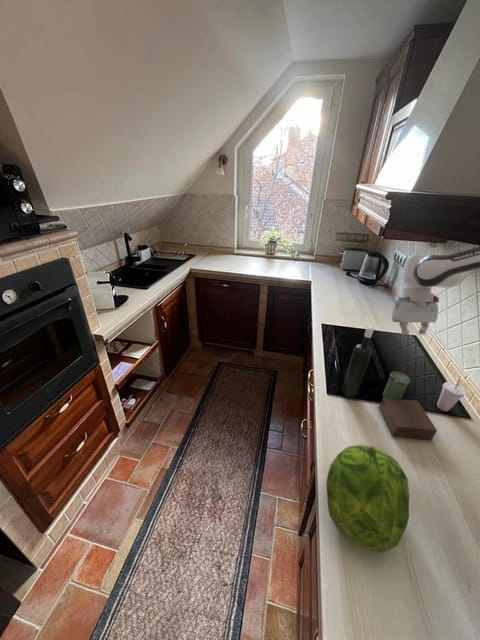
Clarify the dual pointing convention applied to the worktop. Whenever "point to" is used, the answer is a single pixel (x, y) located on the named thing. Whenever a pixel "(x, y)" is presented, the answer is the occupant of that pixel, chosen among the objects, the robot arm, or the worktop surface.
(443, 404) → the smoothie
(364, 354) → the wine bottle
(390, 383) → the green tin
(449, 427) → the worktop surface
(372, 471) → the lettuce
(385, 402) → the walnut block
